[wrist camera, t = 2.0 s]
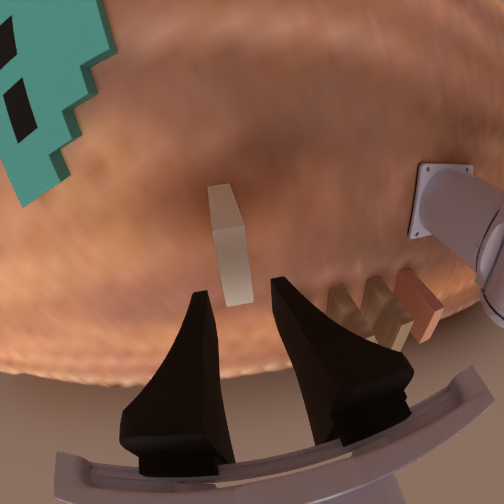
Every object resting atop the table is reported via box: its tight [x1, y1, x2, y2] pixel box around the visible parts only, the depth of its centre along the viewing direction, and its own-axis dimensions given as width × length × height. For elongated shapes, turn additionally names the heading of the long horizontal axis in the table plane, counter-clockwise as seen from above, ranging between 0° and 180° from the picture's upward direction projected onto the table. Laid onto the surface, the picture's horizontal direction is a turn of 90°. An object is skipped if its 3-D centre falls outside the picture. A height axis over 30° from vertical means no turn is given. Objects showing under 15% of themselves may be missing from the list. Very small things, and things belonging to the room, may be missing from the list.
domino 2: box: [360, 277, 414, 352], centre depth 25 cm, size 2×5×7 cm, turn 5°
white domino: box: [207, 183, 254, 307], centre depth 17 cm, size 2×5×7 cm, turn 5°
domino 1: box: [326, 286, 375, 342], centre depth 25 cm, size 2×5×7 cm, turn 4°
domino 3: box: [393, 269, 445, 343], centre depth 26 cm, size 2×5×7 cm, turn 4°
